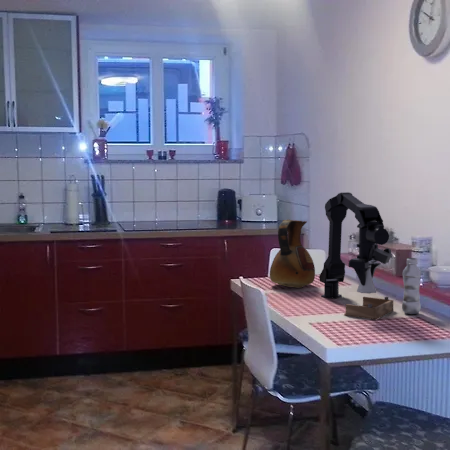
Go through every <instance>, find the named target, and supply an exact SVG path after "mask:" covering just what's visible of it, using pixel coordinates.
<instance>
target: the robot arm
mask: <svg viewBox="0 0 450 450" xmlns="http://www.w3.org/2000/svg"><path fill="white" fill-rule="evenodd" d="M324 210H325V217H327V220H328V222H329V227H328V228H329V229H328V256H327V258H326V260H325V261H324V262H323V268H322V269H321V272H320V274H319V276H318V277H319V282H320V283H323V284H324V287H323V288H324V294H322V295H321V296H320V297H321V298H328V299H337V298H338V299H339V298H340V297H342V296H343V295H342V294H339V284H340V283H344V280H345V275H346V264H345V262H343V260H342V258H341V252H342V251H341V250H342V232H343V231H342V228H343V221H344V220H345V218H347V213H348V210H350V211H351V212H352V213H353V214H354V218H355V219H356V221H357V222H358V224H357V226H356V228H358V231H359V232H358V243H357V244H356V248H358V255H356V257H354V258H351V259H350V260H349V261H348V268H352V269H353V270H354V272H355V273H356V276H357V278H358V280H359V283H360V282H361V284H362V285H363V286H365V283H366V276H367V271H368V270H369V269H370V271H371V276H372V279H373V278H374V276H375V272H376V269H377V268H378V267H379V266H381V265H382V264H383V265H386V264H387V263H388V264H389V263H390V260H391V259H392V258H393V256H392V255H393V253H392V249H390V248H388V247H386V248H384V249H380V248H379V246H383V245H385V244H387V243H388V241H389V240H390V234H389V232H388V231H387V229H385V225H384V220H383V218H382V215H381V214H380V210H379V209H378V207H377V206H376V205H372V204H368V203H367V204H366V203H364V202H362V200H359V199H358V198H357V197H355V195H353V194H352V192H349V191H347V192H344V191H343V192H338V193H337V194H336V195H335V196H333V197H331V198H329V199H328V200H327V201H326V202H325V205H324ZM369 264H370V265H371V267H368V266H369Z"/></svg>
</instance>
